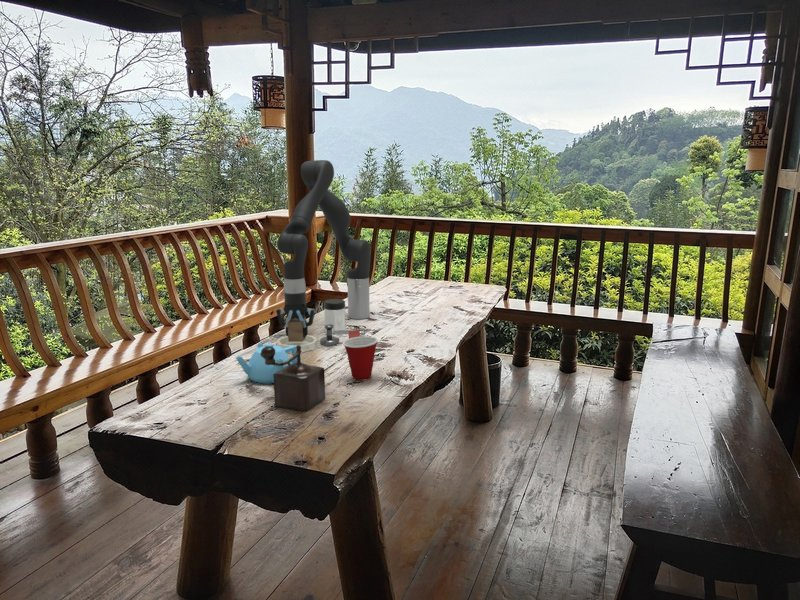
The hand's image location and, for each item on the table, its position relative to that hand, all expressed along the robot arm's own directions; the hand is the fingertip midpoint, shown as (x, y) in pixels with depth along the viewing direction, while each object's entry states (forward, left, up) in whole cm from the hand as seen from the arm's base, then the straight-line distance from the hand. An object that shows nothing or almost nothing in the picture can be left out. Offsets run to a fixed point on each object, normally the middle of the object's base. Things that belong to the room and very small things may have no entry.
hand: (296, 336), depth 214 cm
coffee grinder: (+51, -17, -4) cm, 54 cm away
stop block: (0, 0, -1) cm, 1 cm away
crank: (+3, +18, -3) cm, 18 cm away
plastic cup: (+39, +8, -4) cm, 40 cm away
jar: (-14, +20, -4) cm, 25 cm away
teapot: (+26, -17, -4) cm, 31 cm away
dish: (0, 0, -4) cm, 4 cm away
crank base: (+1, +12, -4) cm, 13 cm away
